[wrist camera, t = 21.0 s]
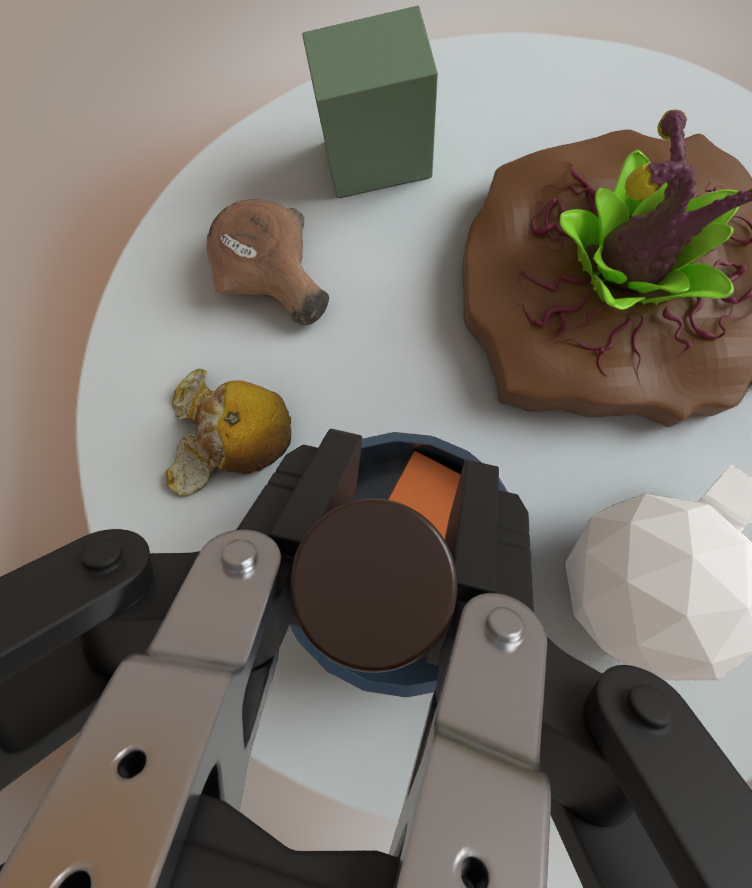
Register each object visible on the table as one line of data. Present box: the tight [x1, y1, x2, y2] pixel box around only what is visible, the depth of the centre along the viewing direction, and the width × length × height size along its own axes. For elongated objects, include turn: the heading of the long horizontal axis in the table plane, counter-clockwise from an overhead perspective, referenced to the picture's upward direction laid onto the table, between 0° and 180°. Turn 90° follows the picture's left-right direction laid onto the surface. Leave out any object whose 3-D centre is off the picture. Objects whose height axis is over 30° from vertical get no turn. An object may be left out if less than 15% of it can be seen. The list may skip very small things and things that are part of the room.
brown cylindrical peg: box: [290, 499, 457, 673], centre depth 11 cm, size 3×3×9 cm
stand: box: [302, 6, 438, 198], centre depth 32 cm, size 7×5×8 cm
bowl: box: [290, 432, 531, 697], centre depth 27 cm, size 13×13×6 cm
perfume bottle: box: [565, 465, 752, 680], centre depth 25 cm, size 9×9×12 cm
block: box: [388, 451, 461, 540], centre depth 28 cm, size 4×4×4 cm
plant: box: [462, 110, 752, 427], centre depth 27 cm, size 20×20×11 cm
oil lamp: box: [207, 199, 329, 325], centre depth 33 cm, size 9×4×8 cm
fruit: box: [166, 369, 291, 496], centre depth 31 cm, size 8×8×4 cm
